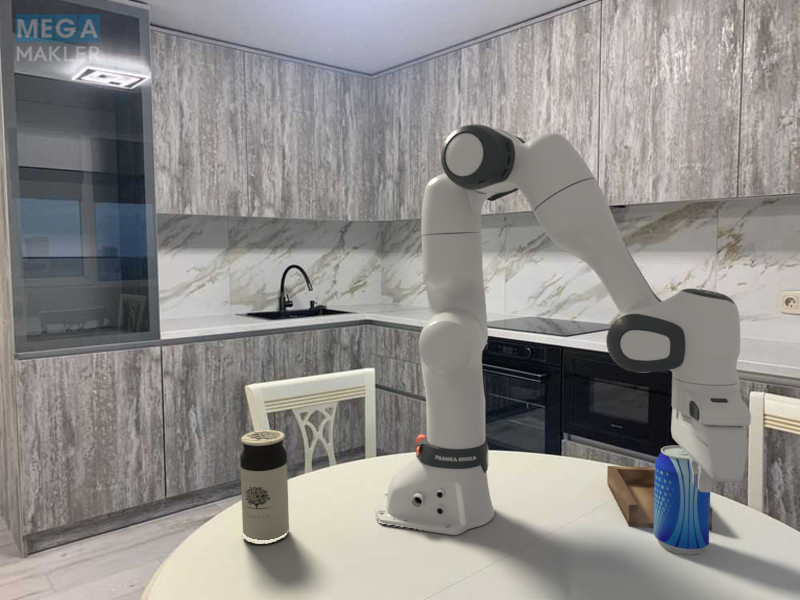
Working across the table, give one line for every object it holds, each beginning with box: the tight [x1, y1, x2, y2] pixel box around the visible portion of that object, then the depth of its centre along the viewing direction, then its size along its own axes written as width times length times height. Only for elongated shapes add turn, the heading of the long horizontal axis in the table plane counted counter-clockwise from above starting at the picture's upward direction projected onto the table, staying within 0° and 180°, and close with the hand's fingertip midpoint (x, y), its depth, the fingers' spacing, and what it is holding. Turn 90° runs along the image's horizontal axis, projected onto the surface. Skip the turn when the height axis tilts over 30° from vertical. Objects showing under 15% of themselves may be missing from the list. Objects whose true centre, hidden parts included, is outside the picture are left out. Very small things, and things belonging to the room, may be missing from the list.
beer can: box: [653, 445, 711, 556], centre depth 99 cm, size 8×8×16 cm
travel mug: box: [239, 429, 290, 540], centre depth 104 cm, size 8×8×18 cm
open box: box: [606, 465, 713, 531], centre depth 115 cm, size 14×20×4 cm
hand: (701, 488), depth 89 cm, fingers closed
